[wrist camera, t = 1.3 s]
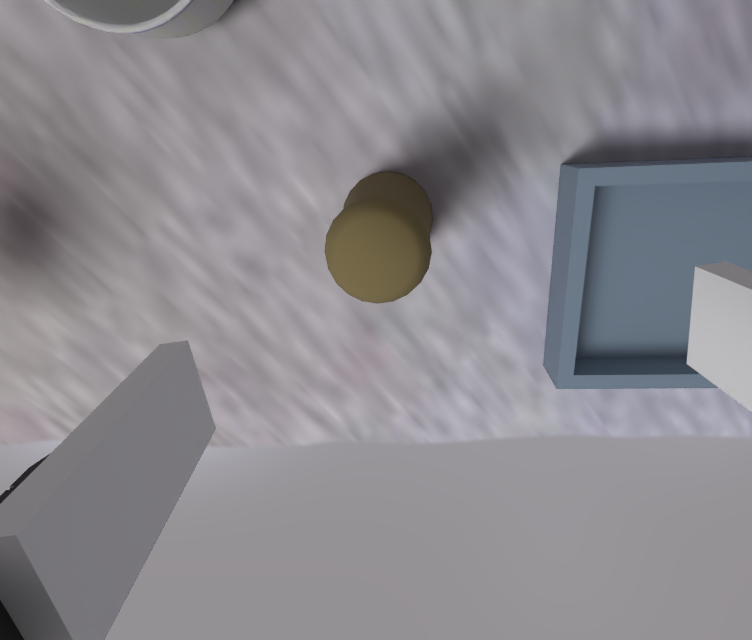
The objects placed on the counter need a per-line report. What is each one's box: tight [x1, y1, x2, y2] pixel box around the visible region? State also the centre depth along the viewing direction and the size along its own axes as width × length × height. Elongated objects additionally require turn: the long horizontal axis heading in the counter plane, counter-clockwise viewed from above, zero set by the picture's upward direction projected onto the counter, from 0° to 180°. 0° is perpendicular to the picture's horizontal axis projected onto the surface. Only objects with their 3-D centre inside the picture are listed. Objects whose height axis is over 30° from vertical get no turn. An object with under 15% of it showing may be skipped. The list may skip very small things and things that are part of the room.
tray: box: [543, 156, 752, 389], centre depth 31 cm, size 20×14×4 cm
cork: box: [325, 171, 433, 303], centre depth 27 cm, size 6×6×11 cm
